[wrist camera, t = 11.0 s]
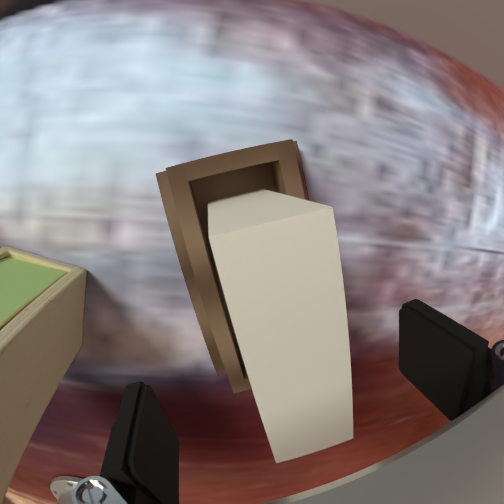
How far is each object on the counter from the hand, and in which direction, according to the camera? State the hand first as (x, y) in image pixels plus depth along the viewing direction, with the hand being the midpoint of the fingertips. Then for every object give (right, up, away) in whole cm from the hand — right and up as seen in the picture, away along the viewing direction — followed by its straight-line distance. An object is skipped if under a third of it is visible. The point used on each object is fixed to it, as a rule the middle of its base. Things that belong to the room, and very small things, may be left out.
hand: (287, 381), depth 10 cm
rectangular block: (-1, +3, +10) cm, 11 cm away
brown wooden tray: (-1, +4, +11) cm, 12 cm away
